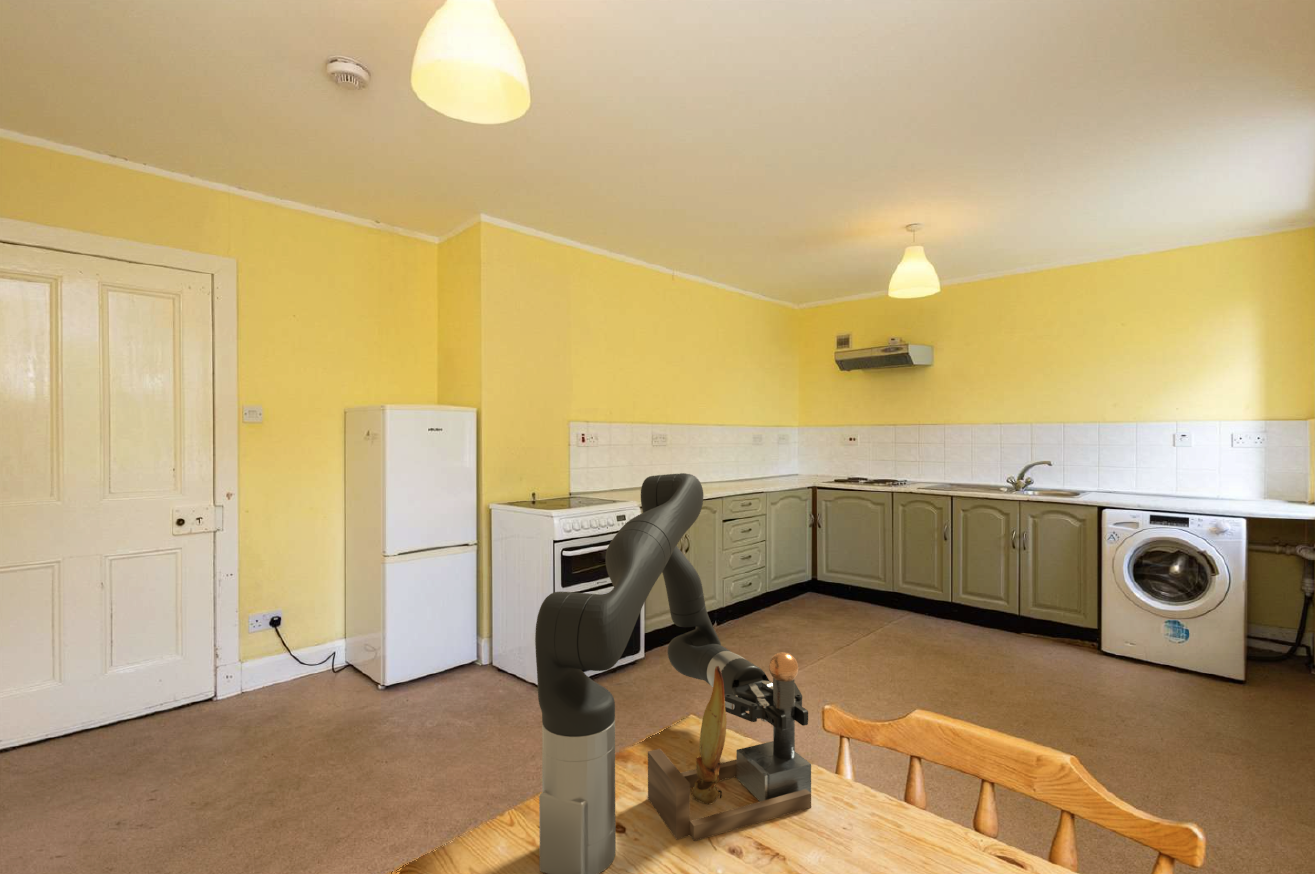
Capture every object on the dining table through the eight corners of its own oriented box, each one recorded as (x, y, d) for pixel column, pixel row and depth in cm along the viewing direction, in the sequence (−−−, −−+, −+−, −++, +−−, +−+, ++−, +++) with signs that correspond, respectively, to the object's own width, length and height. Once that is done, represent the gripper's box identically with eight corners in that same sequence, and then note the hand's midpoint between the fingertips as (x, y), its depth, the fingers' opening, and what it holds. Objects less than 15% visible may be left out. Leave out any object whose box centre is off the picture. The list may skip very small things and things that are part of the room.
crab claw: (728, 821, 86) (727, 677, 86) (691, 820, 86) (690, 676, 86) (725, 792, 93) (725, 658, 92) (691, 791, 93) (691, 658, 93)
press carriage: (765, 806, 88) (764, 668, 88) (736, 778, 96) (736, 650, 96) (812, 793, 91) (811, 659, 91) (781, 766, 99) (780, 643, 99)
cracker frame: (680, 845, 81) (680, 791, 81) (644, 794, 92) (644, 747, 92) (811, 807, 89) (811, 758, 89) (763, 765, 100) (763, 722, 100)
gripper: (700, 663, 105) (754, 704, 89) (770, 652, 110) (833, 688, 94) (700, 708, 105) (754, 756, 89) (771, 694, 110) (834, 737, 94)
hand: (795, 721), depth 92 cm, fingers closed on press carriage, 3 cm apart
